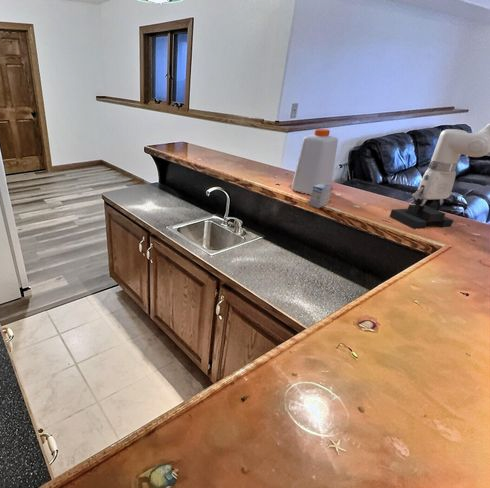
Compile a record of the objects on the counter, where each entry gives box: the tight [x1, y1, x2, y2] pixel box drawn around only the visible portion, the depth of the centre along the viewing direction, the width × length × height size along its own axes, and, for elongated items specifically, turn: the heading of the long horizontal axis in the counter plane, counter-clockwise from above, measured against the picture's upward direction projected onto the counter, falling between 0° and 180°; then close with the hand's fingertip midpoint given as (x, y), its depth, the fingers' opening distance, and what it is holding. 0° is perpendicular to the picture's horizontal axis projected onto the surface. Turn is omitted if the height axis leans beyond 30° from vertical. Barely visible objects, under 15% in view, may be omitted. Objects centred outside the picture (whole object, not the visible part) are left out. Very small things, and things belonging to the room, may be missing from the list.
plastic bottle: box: [291, 128, 339, 196], centre depth 160 cm, size 15×15×28 cm
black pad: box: [407, 203, 446, 223], centre depth 130 cm, size 6×10×3 cm, turn 9°
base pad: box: [389, 208, 454, 230], centre depth 132 cm, size 15×13×3 cm
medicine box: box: [309, 183, 333, 209], centre depth 146 cm, size 8×4×9 cm, turn 130°
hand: (424, 214), depth 130 cm, fingers closed on black pad, 6 cm apart
